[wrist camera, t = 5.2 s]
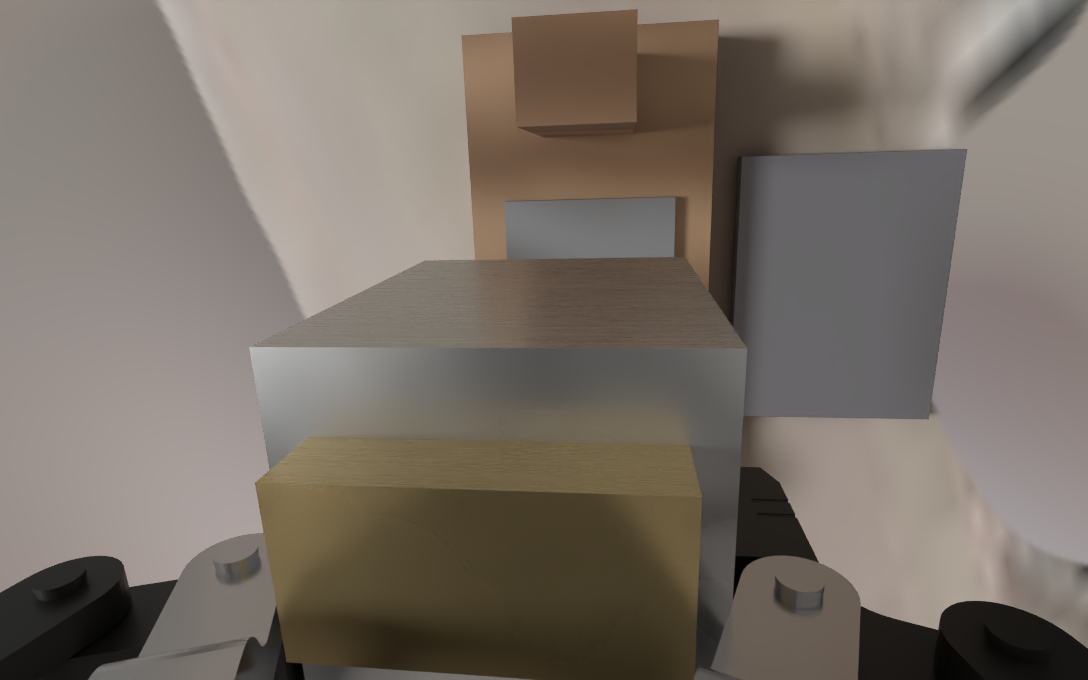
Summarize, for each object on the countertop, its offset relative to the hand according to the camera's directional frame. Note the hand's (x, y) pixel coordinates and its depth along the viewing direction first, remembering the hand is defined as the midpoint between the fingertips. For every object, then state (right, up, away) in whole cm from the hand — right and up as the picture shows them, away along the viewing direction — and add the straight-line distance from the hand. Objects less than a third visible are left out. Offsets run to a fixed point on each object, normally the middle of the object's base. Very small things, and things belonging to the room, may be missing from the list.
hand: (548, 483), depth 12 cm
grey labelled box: (0, 0, +1) cm, 1 cm away
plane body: (+2, +5, +18) cm, 19 cm away
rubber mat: (+13, +5, +17) cm, 22 cm away
